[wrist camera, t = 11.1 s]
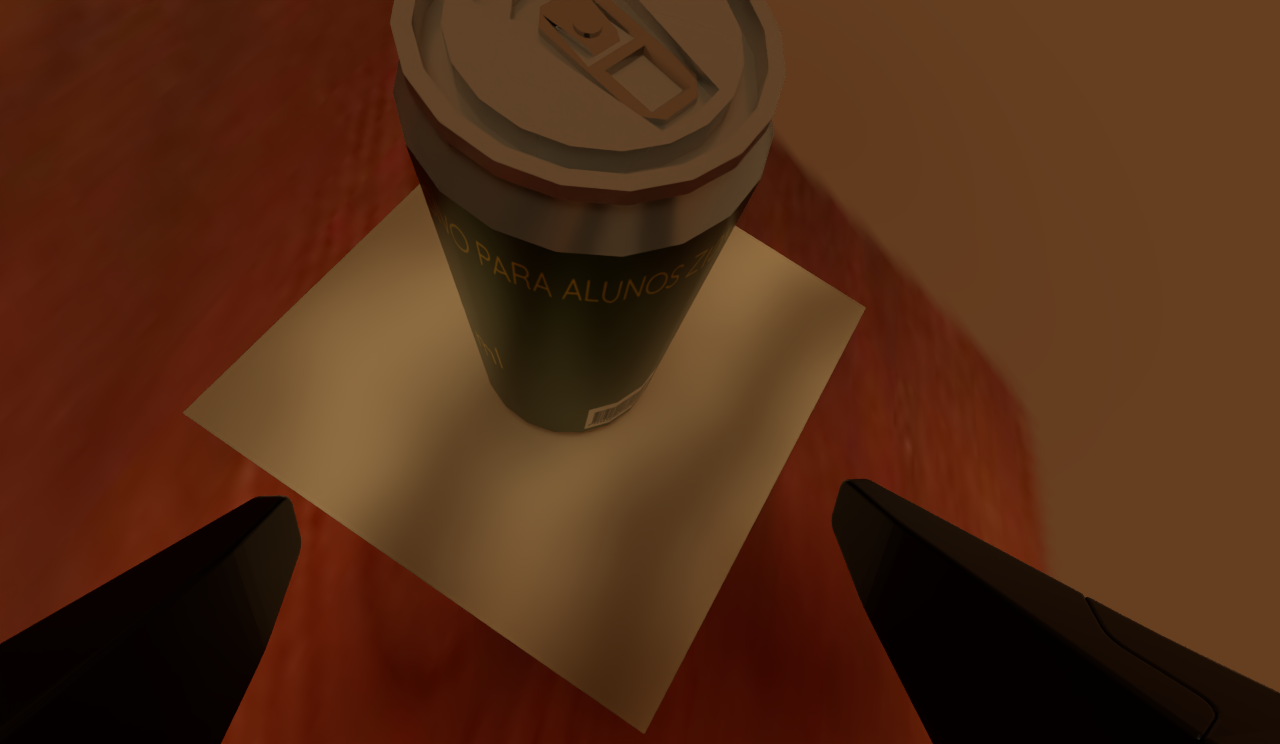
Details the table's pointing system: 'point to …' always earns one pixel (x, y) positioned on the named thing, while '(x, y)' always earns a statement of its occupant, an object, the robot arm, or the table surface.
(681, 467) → the serving board
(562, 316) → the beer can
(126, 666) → the robot arm
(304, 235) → the table surface
